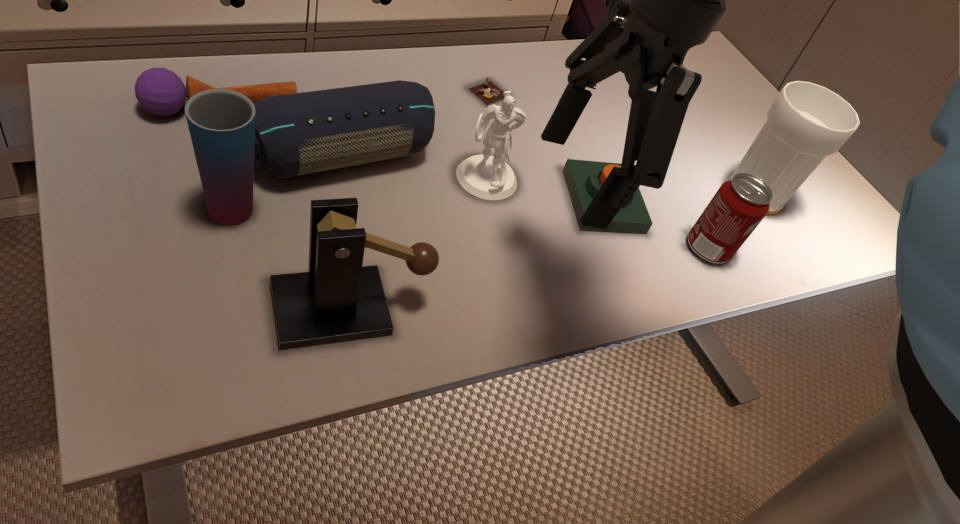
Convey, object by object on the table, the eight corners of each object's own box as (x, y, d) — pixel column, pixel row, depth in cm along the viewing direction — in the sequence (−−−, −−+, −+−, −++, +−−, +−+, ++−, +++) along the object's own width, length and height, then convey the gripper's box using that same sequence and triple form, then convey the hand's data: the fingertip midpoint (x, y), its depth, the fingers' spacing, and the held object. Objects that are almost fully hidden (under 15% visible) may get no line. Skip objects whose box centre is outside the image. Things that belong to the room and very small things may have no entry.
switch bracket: (376, 271, 78) (390, 180, 66) (392, 334, 72) (410, 248, 61) (270, 281, 73) (266, 187, 62) (279, 349, 68) (277, 260, 57)
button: (629, 194, 91) (634, 185, 90) (602, 192, 90) (607, 183, 89) (622, 174, 94) (626, 165, 92) (596, 172, 93) (600, 163, 91)
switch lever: (420, 260, 74) (440, 240, 72) (428, 285, 72) (449, 266, 70) (311, 223, 64) (332, 200, 62) (317, 251, 62) (339, 228, 60)
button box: (646, 234, 92) (658, 214, 89) (580, 230, 90) (590, 210, 87) (624, 174, 100) (634, 155, 97) (562, 169, 97) (571, 149, 94)
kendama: (301, 95, 89) (135, 93, 80) (296, 124, 93) (138, 125, 84) (293, 62, 91) (130, 56, 82) (288, 91, 96) (134, 89, 87)
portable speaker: (259, 200, 80) (256, 137, 73) (236, 147, 85) (231, 83, 78) (440, 165, 92) (453, 107, 84) (410, 120, 97) (421, 61, 89)
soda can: (710, 273, 90) (757, 213, 81) (676, 239, 93) (717, 178, 84) (739, 256, 93) (787, 197, 84) (705, 224, 96) (747, 164, 87)
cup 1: (268, 223, 79) (264, 124, 67) (209, 237, 75) (195, 136, 64) (249, 184, 82) (243, 84, 71) (192, 196, 79) (176, 93, 67)
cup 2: (797, 226, 101) (872, 139, 88) (729, 212, 99) (795, 121, 86) (778, 177, 108) (845, 89, 95) (715, 163, 107) (774, 73, 94)
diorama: (474, 89, 105) (477, 78, 103) (490, 83, 107) (493, 72, 105) (486, 100, 104) (489, 89, 102) (503, 94, 106) (506, 83, 104)
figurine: (445, 182, 90) (468, 92, 79) (470, 148, 96) (494, 59, 84) (504, 209, 89) (535, 122, 78) (525, 173, 95) (557, 87, 84)
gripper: (805, 70, 47) (647, 272, 60) (665, -63, 64) (566, 118, 77) (726, 42, 44) (577, 262, 57) (601, -89, 61) (509, 104, 74)
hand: (570, 180), depth 67 cm, fingers open, 13 cm apart
